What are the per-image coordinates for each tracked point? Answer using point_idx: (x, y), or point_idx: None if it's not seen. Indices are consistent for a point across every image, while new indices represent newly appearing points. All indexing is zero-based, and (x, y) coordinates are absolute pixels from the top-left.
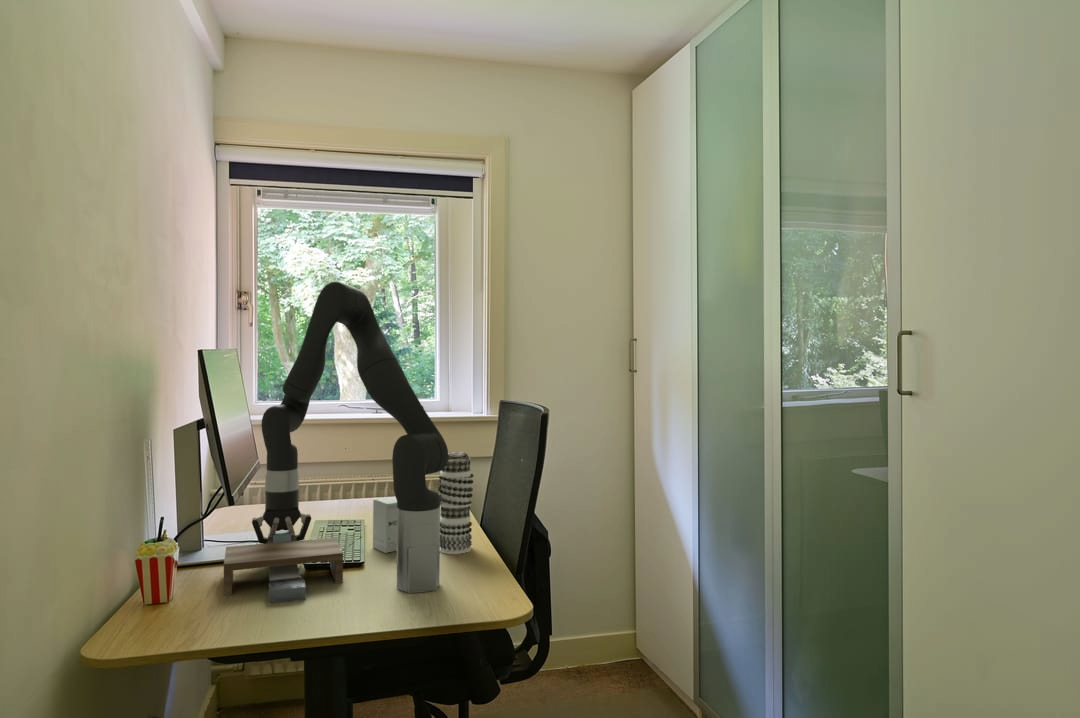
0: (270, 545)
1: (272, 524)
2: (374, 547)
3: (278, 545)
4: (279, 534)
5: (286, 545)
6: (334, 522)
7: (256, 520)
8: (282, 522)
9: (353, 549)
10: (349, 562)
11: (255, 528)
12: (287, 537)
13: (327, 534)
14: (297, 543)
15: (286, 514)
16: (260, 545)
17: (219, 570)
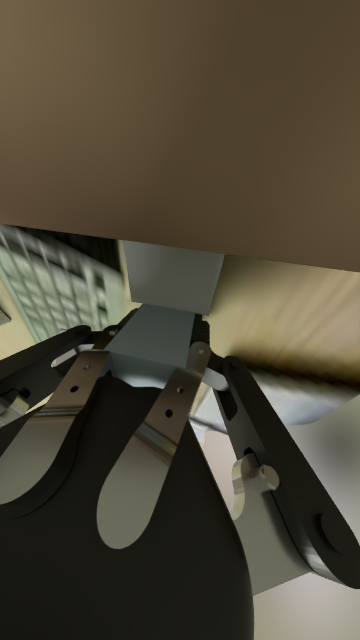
0: (267, 139)
1: (177, 445)
2: (4, 315)
3: (187, 73)
4: (154, 367)
5: (92, 8)
6: None
7: (328, 567)
8: (105, 438)
9: (43, 326)
10: (5, 227)
11: (291, 450)
12: (126, 341)
13: None
14: (5, 104)
15: (8, 539)
16: (354, 199)
17: (336, 326)
